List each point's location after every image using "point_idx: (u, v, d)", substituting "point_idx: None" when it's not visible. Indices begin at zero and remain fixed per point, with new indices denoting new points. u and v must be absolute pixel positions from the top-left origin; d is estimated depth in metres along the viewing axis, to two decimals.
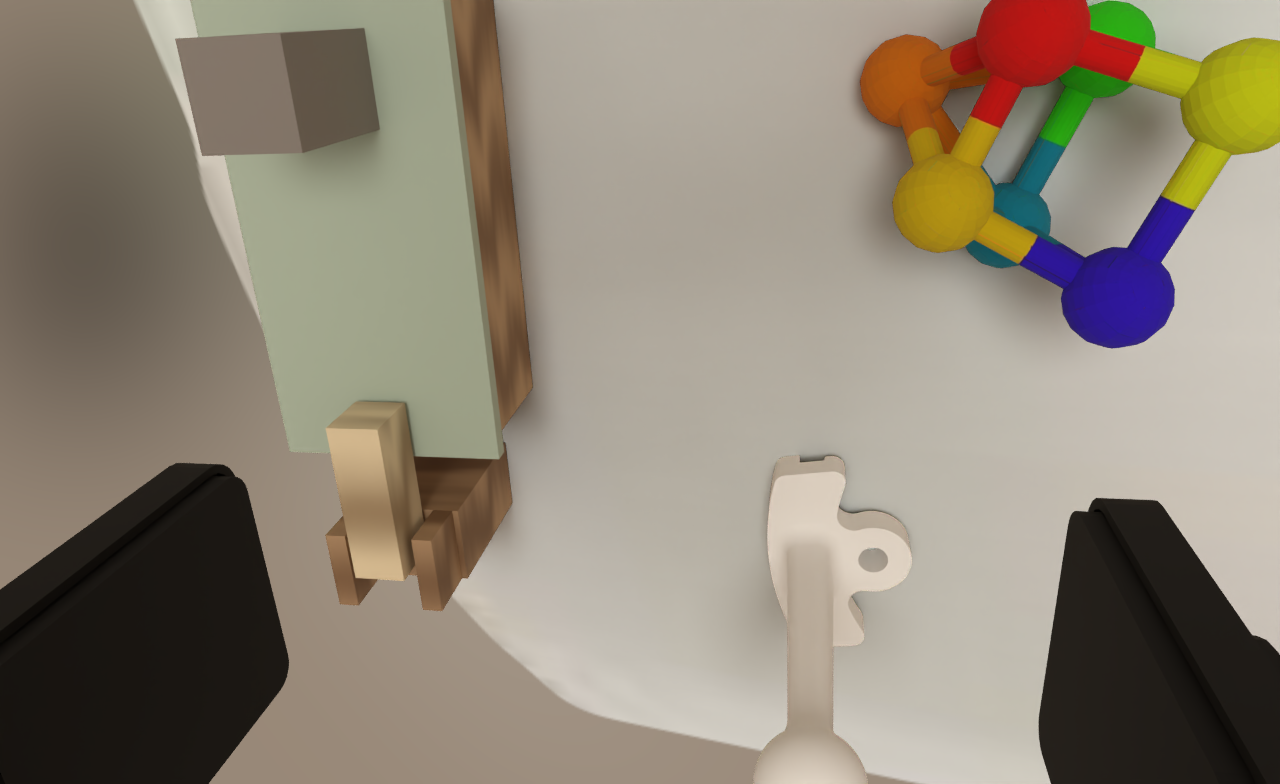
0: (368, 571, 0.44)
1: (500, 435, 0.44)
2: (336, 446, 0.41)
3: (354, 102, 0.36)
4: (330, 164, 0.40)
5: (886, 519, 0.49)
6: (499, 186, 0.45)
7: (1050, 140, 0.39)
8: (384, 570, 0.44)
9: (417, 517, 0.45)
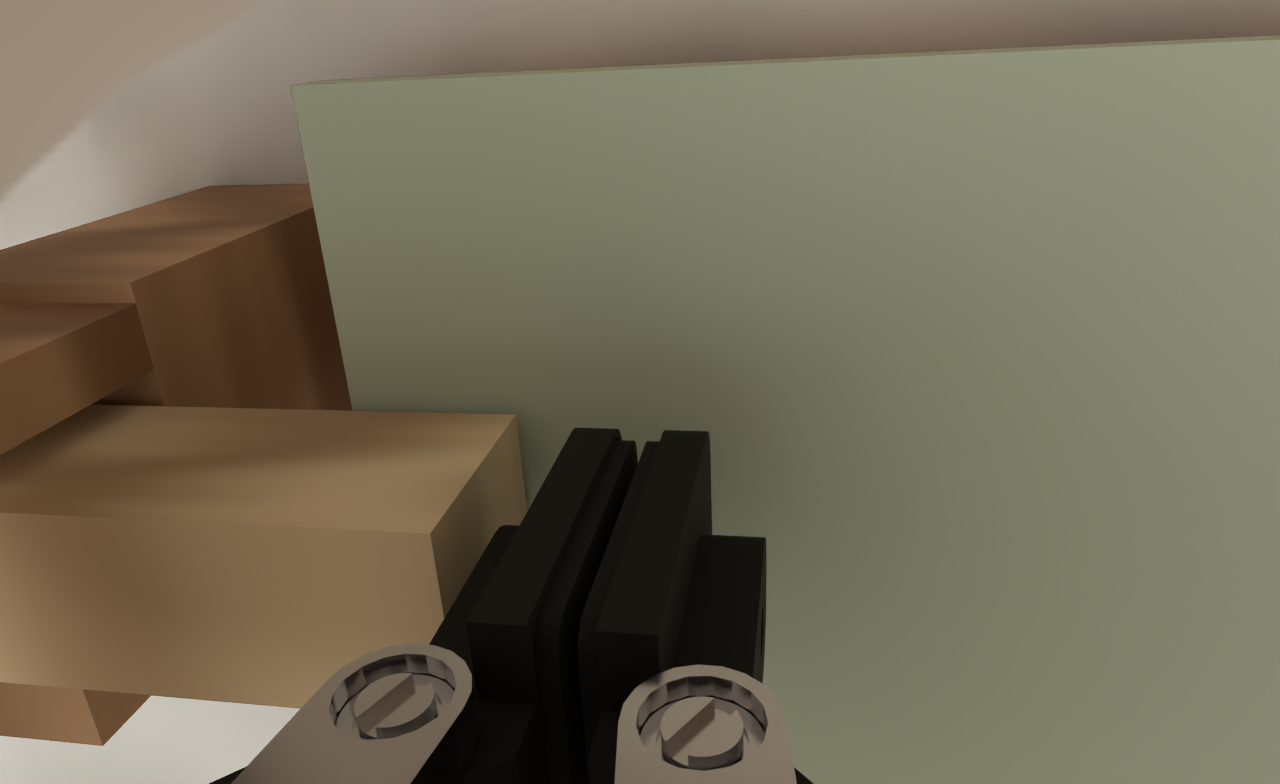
0: None
1: None
2: (353, 559, 0.10)
3: None
4: None
5: None
6: None
7: None
8: None
9: None
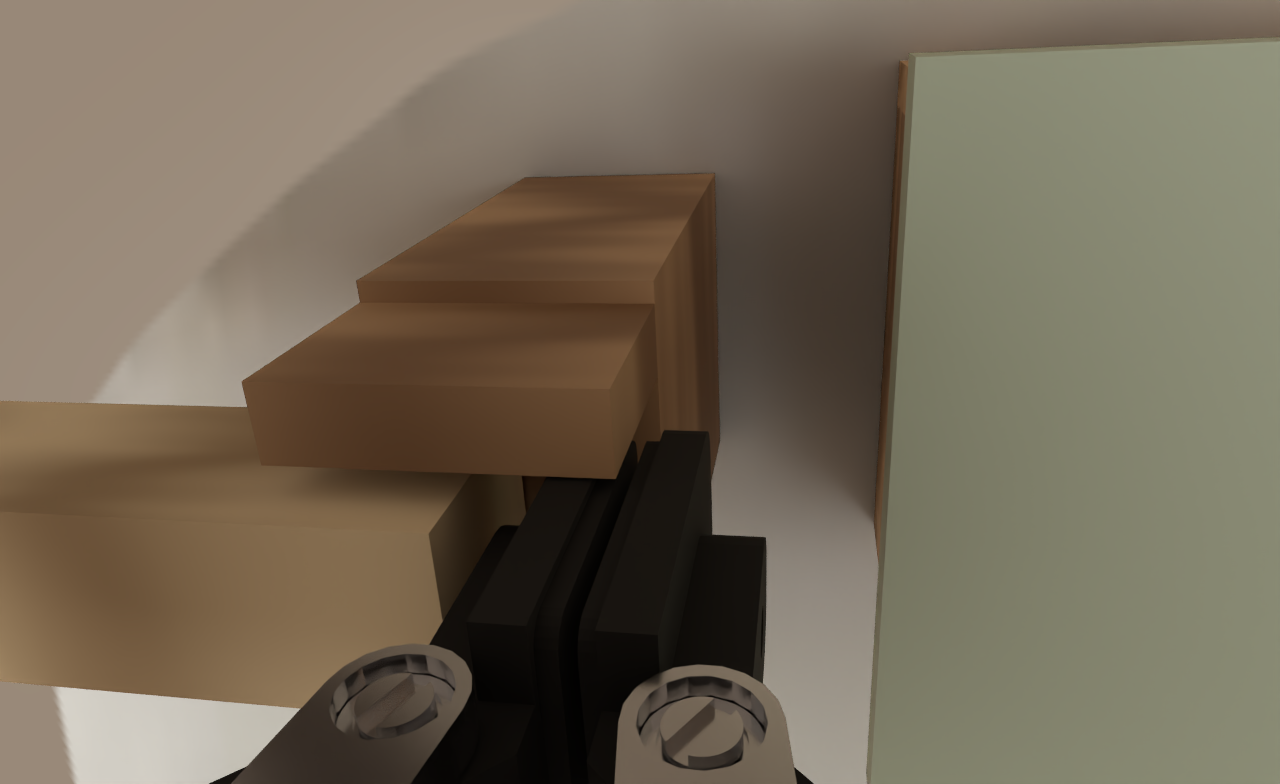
0: None
1: None
2: (353, 559, 0.10)
3: None
4: None
5: None
6: None
7: None
8: None
9: None
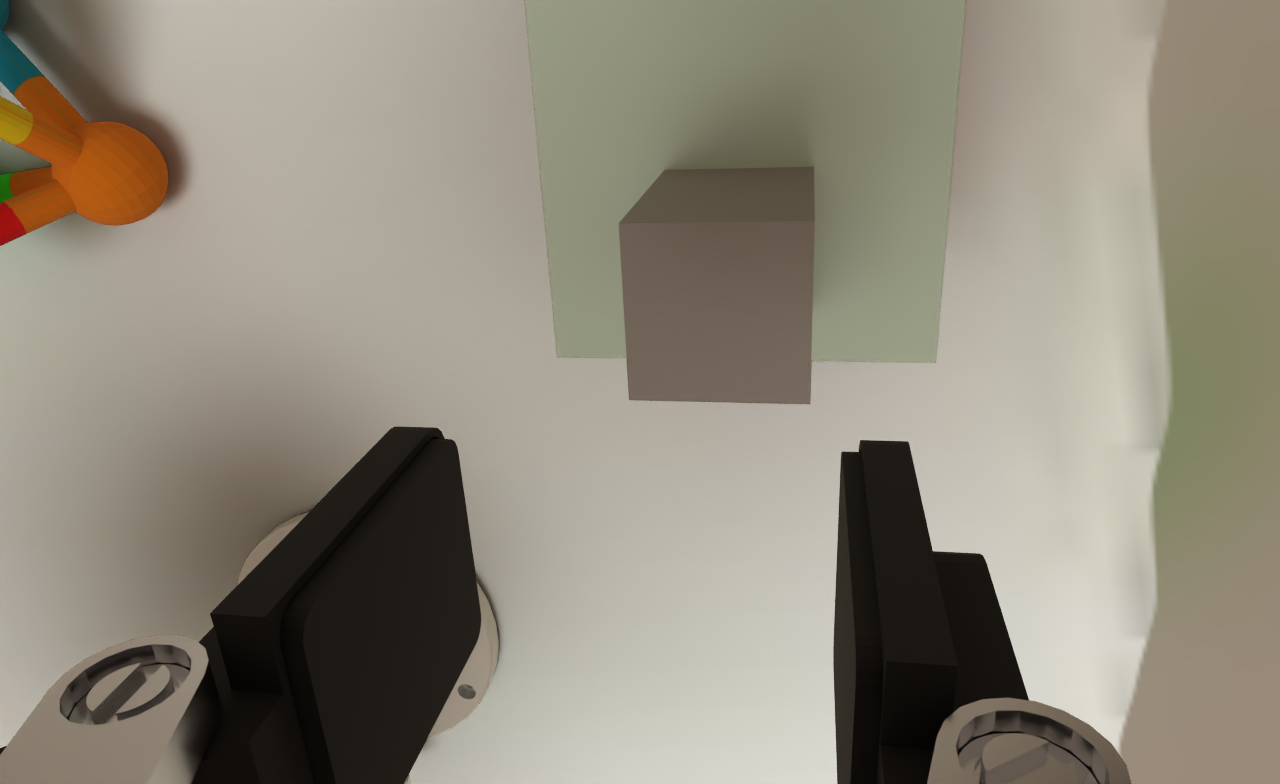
0: None
1: None
2: None
3: None
4: (759, 114, 0.24)
5: None
6: None
7: None
8: None
9: None
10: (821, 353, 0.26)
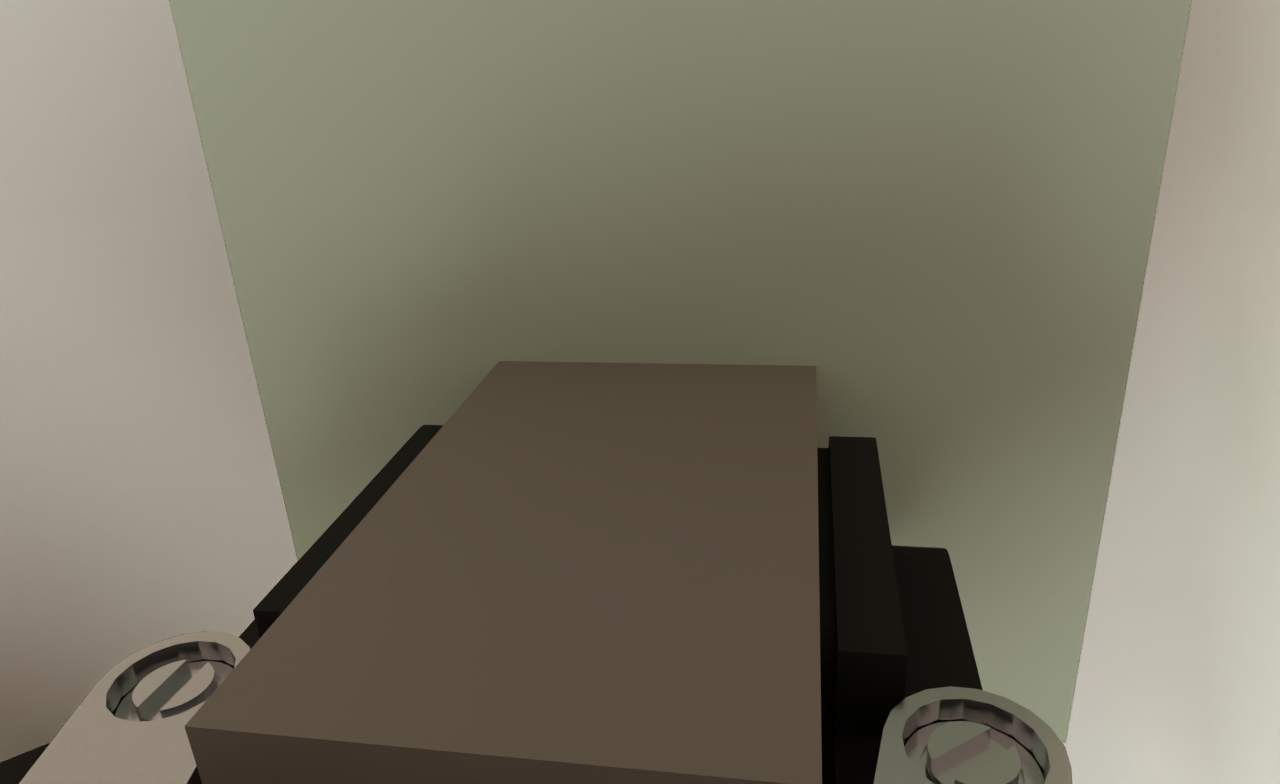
0: None
1: None
2: None
3: None
4: (693, 255, 0.11)
5: None
6: None
7: None
8: None
9: None
10: None
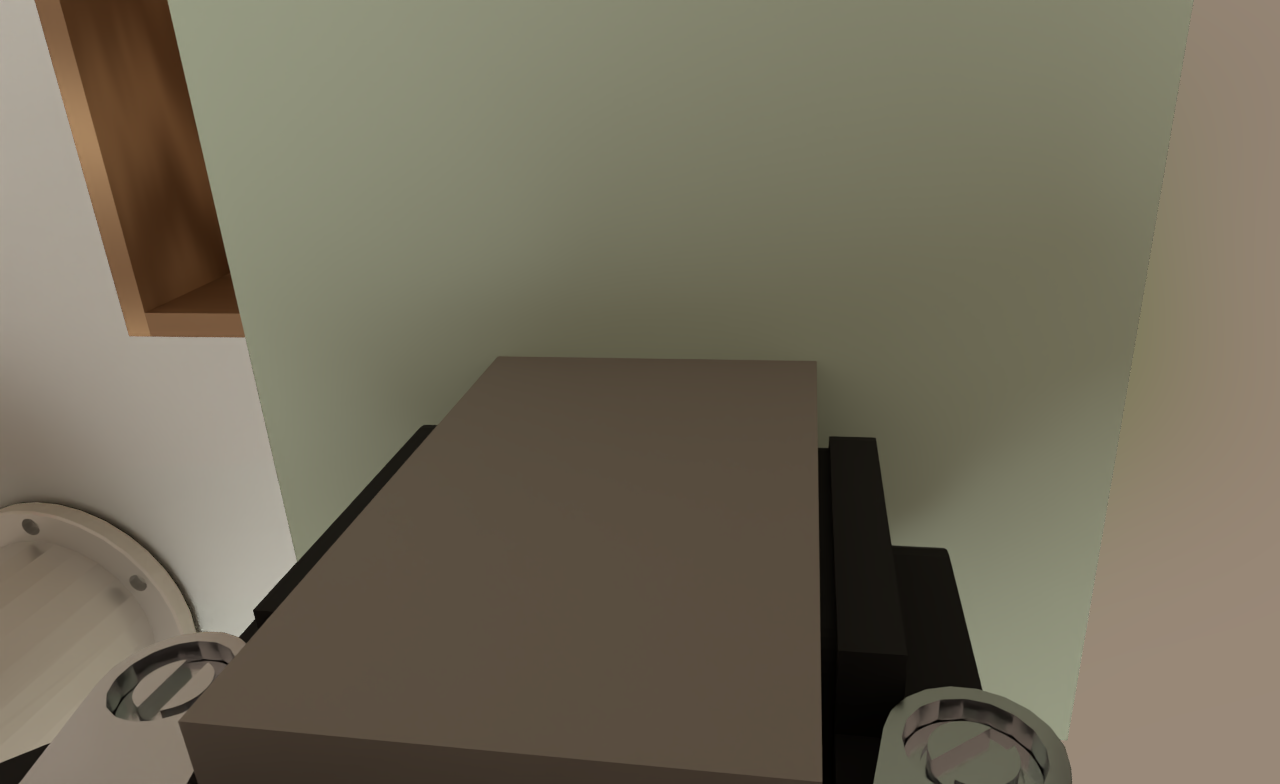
0: None
1: None
2: None
3: None
4: (693, 250, 0.11)
5: None
6: None
7: None
8: None
9: None
10: None
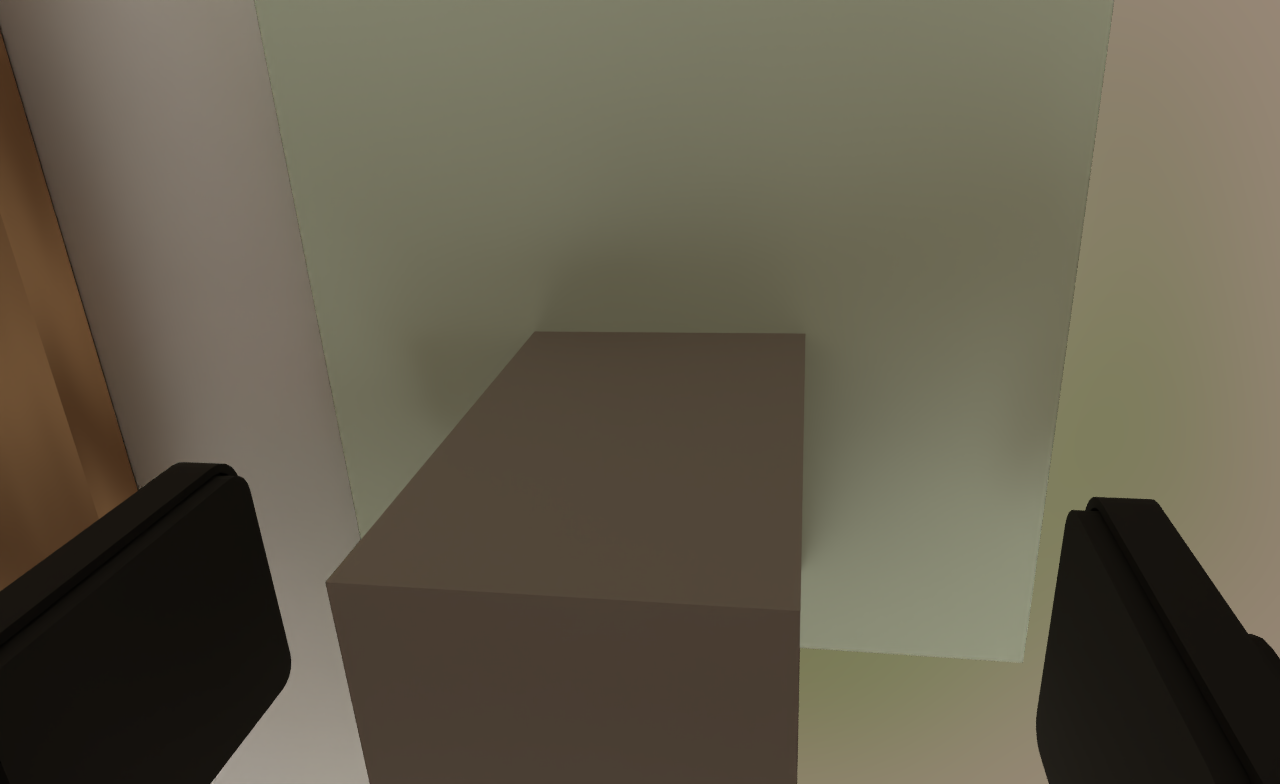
0: None
1: None
2: None
3: None
4: (701, 239, 0.13)
5: None
6: None
7: None
8: None
9: None
10: (820, 637, 0.15)
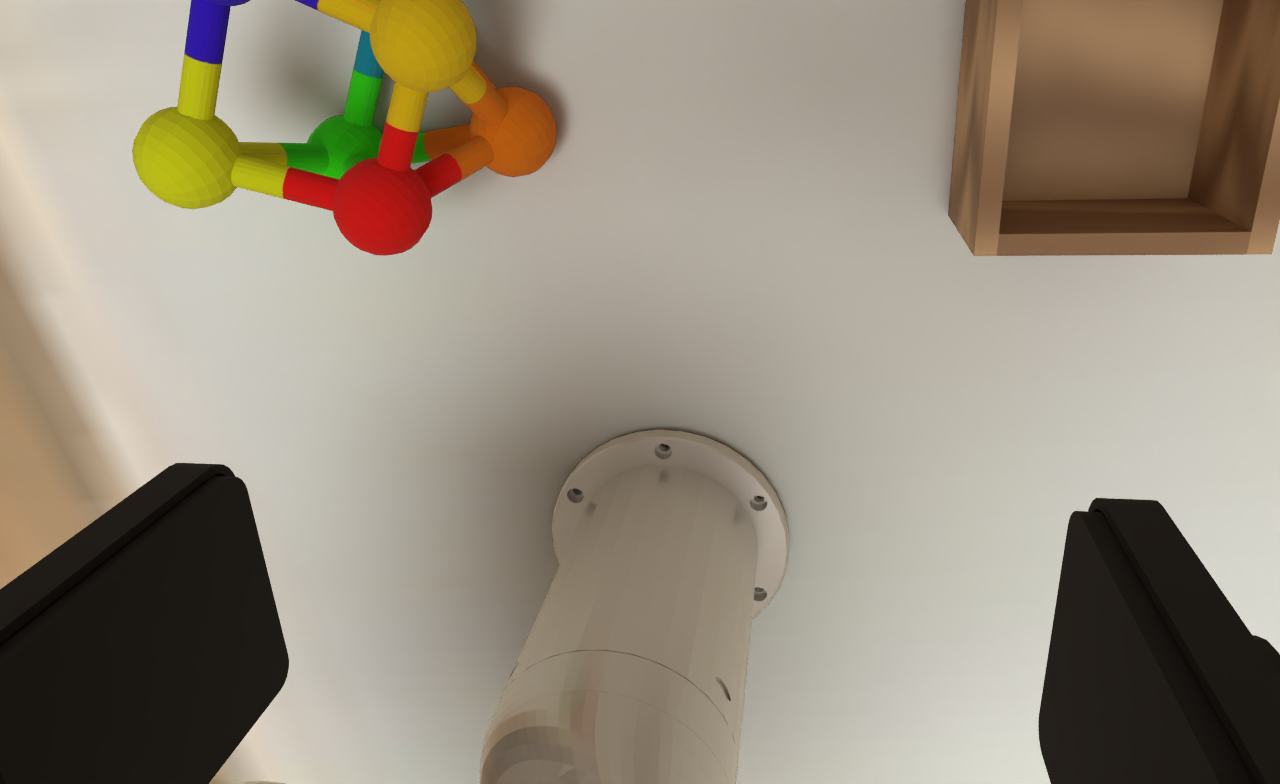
0: None
1: None
2: None
3: None
4: None
5: None
6: (973, 6, 0.35)
7: (367, 76, 0.40)
8: None
9: None
10: None
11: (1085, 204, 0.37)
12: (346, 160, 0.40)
